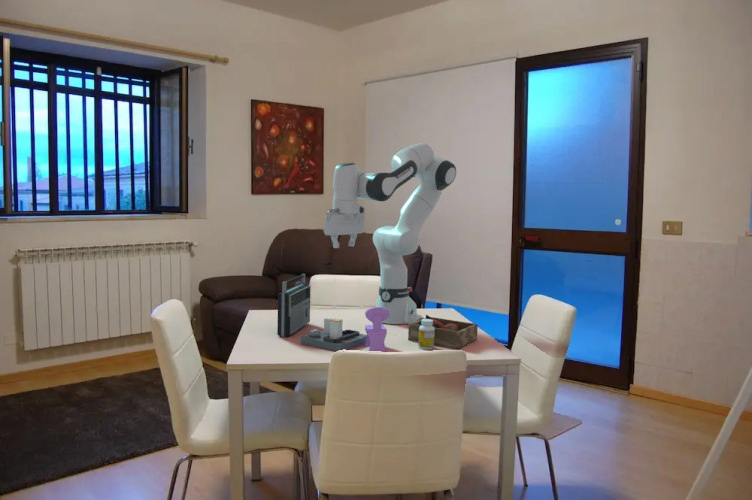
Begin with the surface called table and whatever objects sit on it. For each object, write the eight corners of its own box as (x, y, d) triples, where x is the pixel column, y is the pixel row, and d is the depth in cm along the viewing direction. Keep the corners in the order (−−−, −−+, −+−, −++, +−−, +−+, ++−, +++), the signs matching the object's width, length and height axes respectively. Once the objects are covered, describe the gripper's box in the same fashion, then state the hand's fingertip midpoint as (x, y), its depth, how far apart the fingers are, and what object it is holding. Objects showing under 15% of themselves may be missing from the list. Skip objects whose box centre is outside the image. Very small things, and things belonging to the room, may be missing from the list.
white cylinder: (334, 338, 208) (334, 318, 208) (342, 339, 207) (342, 319, 206) (329, 339, 206) (330, 319, 205) (337, 341, 204) (337, 321, 204)
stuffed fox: (418, 317, 223) (444, 312, 229) (429, 346, 219) (455, 340, 225) (428, 309, 217) (454, 304, 223) (439, 338, 213) (465, 333, 219)
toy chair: (385, 345, 211) (386, 302, 210) (389, 351, 203) (391, 307, 201) (361, 345, 210) (362, 302, 208) (365, 352, 201) (366, 308, 200)
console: (330, 334, 223) (330, 314, 223) (368, 342, 214) (369, 321, 213) (301, 344, 209) (301, 322, 208) (340, 352, 200) (341, 330, 199)
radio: (291, 338, 217) (292, 283, 215) (277, 336, 218) (278, 282, 216) (311, 323, 241) (312, 274, 239) (299, 322, 242) (300, 273, 240)
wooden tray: (428, 332, 232) (429, 316, 232) (477, 340, 222) (477, 324, 221) (408, 340, 219) (408, 323, 218) (458, 349, 208) (459, 332, 208)
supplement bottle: (417, 345, 212) (418, 318, 211) (432, 345, 212) (433, 318, 211) (419, 349, 206) (420, 321, 205) (435, 349, 207) (436, 321, 206)
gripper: (334, 209, 205) (333, 249, 206) (367, 208, 222) (366, 246, 223) (319, 208, 208) (319, 248, 210) (353, 207, 225) (352, 244, 227)
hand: (343, 247), depth 217 cm, fingers open, 8 cm apart
